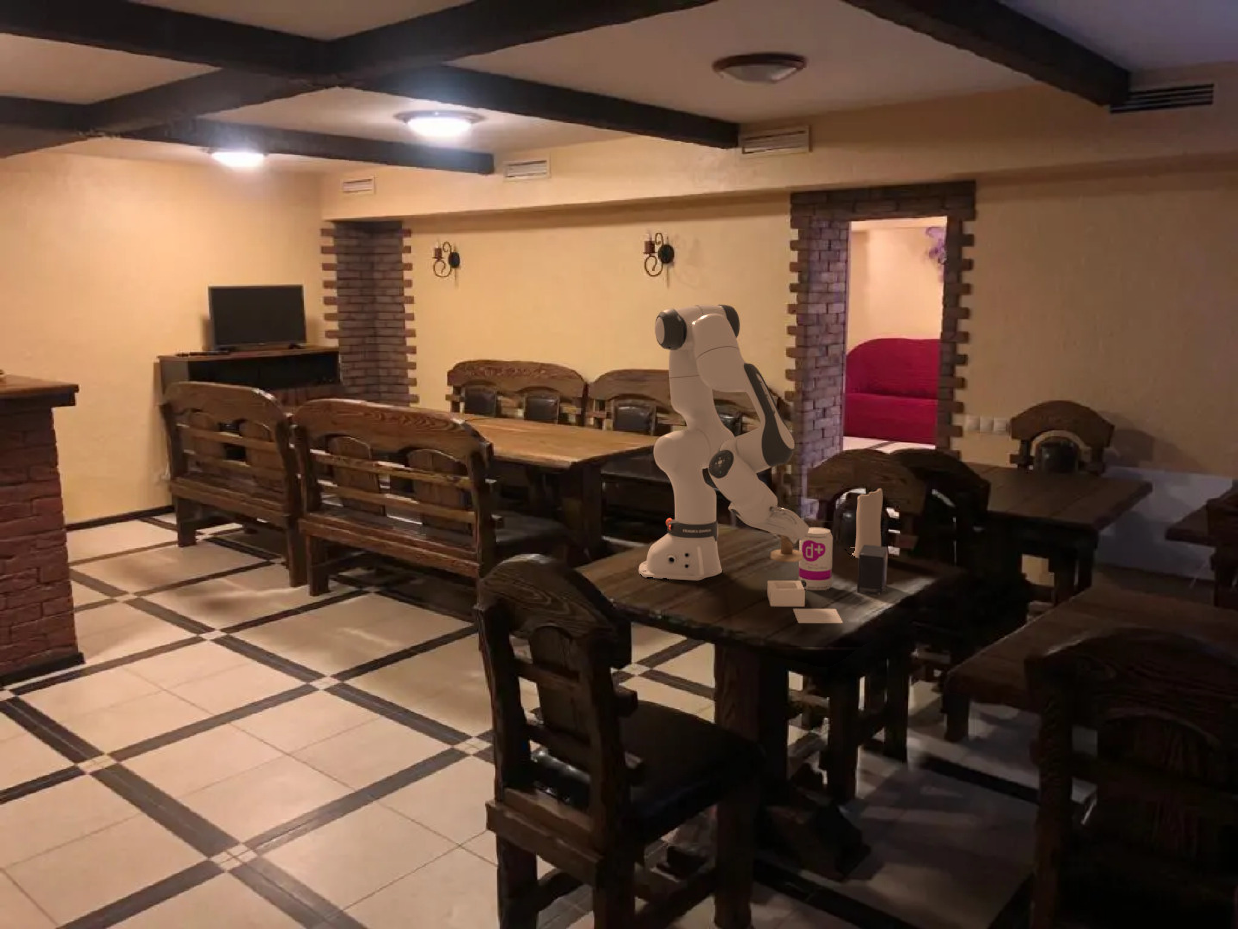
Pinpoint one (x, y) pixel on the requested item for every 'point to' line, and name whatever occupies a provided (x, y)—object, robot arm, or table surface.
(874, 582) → the small box
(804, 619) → the mat
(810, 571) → the supplement can
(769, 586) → the dish
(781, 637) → the table surface
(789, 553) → the wooden peg stand
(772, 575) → the table surface
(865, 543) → the beige wavy upright slab
